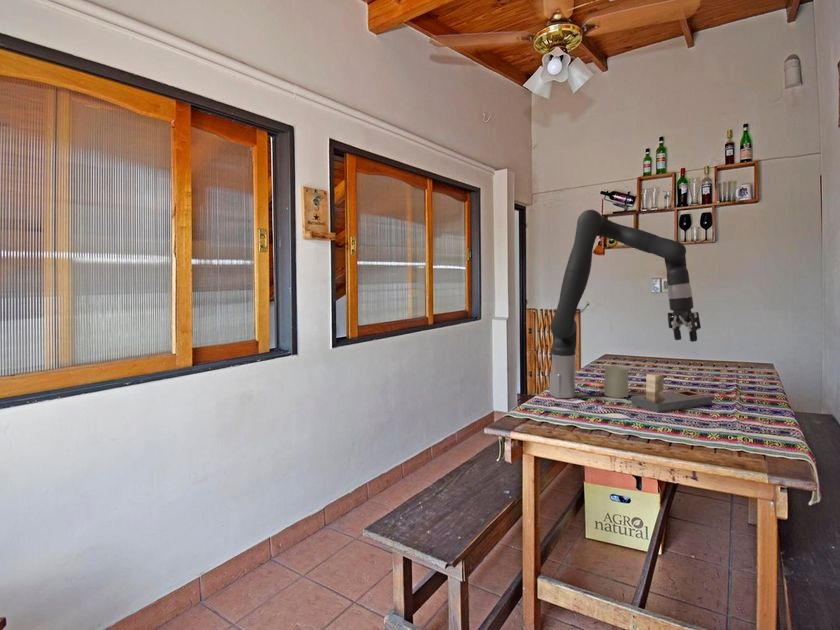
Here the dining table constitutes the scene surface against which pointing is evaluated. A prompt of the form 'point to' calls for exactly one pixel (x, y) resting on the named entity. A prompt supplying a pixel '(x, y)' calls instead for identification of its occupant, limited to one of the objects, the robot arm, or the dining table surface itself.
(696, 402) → the grey slotted board
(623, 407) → the dining table surface
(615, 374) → the can
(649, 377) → the peg
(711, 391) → the dining table surface
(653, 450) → the dining table surface
